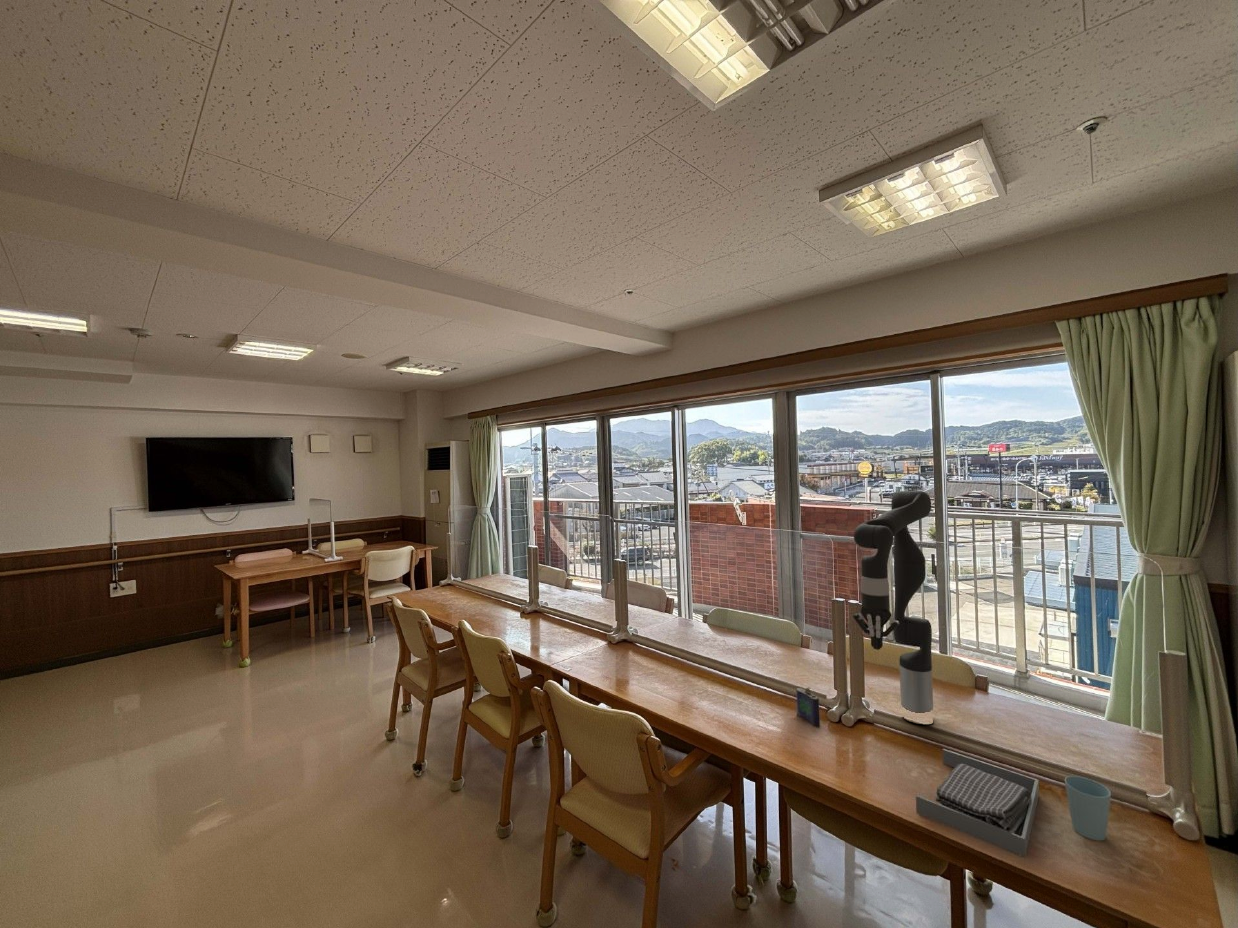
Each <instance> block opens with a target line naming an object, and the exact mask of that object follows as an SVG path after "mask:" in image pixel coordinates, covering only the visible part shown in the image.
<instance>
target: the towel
mask: <svg viewBox="0 0 1238 928" xmlns="http://www.w3.org/2000/svg"><path fill="white" fill-rule="evenodd" d="M935 794H936V797H935V801H936V803H938V804H941V805H943V806H946V807H948V808H951V809H953V810H956V811H959V812H961V813H964V814H966V815H969V816H971V817H974V818H976V819H979V820H981V821H984V822H986V823H989V824H991V825H994V826H996V827H999V828H1002V829H1004V830H1007V831H1009V832H1012V833H1014V834H1017V835H1019V836H1021V835H1022V832H1023V828H1024V824H1025V820H1026V815H1027V811H1028V807H1029V803H1030V800H1031V795H1032V794H1031V792H1030V791H1029V790H1028V789H1026V788H1024V787H1022V786H1020V785H1018V784H1016V783H1013V782H1009V781H1007V780H1005V779H1002V778H1000V777H997V776H995V775H991V774H988V773H985V772H983V771H980V770H979V769H976V768H973V767H971V766H968V765H966V764H962V763H961V764H958V765H957V766H956V767H955V768H954V767H953V768H952V770H951V771H950V772H949V774H948V776H947V777H946V778H945V779H944V781H943V782H942V783H940V785H938V786H937V788H936V793H935Z"/></svg>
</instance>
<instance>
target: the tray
mask: <svg viewBox="0 0 1238 928" xmlns="http://www.w3.org/2000/svg"><path fill="white" fill-rule="evenodd" d="M961 763H962V764H966V765H968V766H971V767H973V768H976V769H979V770H980V771H983V772H985V773H988V774H991V775H995V776H997V777H1000V778H1002V779H1005V780H1007V781H1009V782H1013V783H1016V784H1018V785H1020V786H1022V787H1024V788H1026V789H1028V790H1029V791H1030V792H1031V800H1030V802H1029V807H1028V811H1027V815H1026V820H1025V824H1024V828H1023V831H1022V833H1021V835H1020V836H1019V835H1017V834H1014V833H1012V832H1009V831H1007V830H1004V829H1002V828H999V827H996V826H994V825H991V824H989V823H986V822H984V821H981V820H979V819H976V818H974V817H971V816H969V815H966V814H964V813H961V812H959V811H956V810H953V809H951V808H948V807H946V806H943V805H941V804H940V803H939V802H937V801H936V802H935V801H934V800H930V799H928V798H926V797H923V796H920V795H917V794H916V796H915V807H916V813H917V814H919V815H921V816H924V817H926V818H928V819H931V820H933V821H935V822H938V823H940V824H943V825H946V826H947V827H950V828H952V829H954V830H957V831H960V832H962V833H963V834H967V835H969V836H971V837H974V838H976V839H978V840H981V841H983V842H986V843H988V844H990V845H993V846H995V847H998V848H1000V849H1003V850H1004V851H1007V852H1009V853H1012V854H1015V855H1017V856H1019V855H1021V856H1020V857H1021V858H1024V857H1025V858H1027V857H1026V856H1027V851H1028V847H1029V843H1030V838H1031V833H1032V830H1033V824H1034V820H1035V816H1036V811H1037V805H1038V801H1039V796H1040V792H1039V791H1040V787H1039V779H1037V778H1034V777H1031V776H1028V775H1025V774H1022V773H1019V772H1016V771H1013V770H1011V769H1010V770H1009V769H1007V768H1003V767H1001V766H997V765H995V764H991V763H988V762H985V761H983V760H979V759H976V758H973V757H970V756H968V755H964V754H962V753H961V754H960V753H958V752H955V751H952V750H948V749H946V748H942V764H943V765H945V766H948V767H951V768H953V769H954V768H955V767H956V766H957V765H958V764H961ZM916 813H915V814H916Z"/></svg>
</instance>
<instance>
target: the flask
mask: <svg viewBox="0 0 1238 928" xmlns="http://www.w3.org/2000/svg"><path fill="white" fill-rule="evenodd" d="M810 689H811V687H804V688H800V687H798V688H796V690H795V691H796V692H795V693H796V697H795V698H796V715H797V717H798V718H801V719H802V720H803V721H805V722H808V723H809V724H810V725H812V726H813V727H818V728H819V727H820V726H821V722H820V721H821V720H820V703H819V701H820V699H819V697H818V696H816V694H814V693H812V691H811V690H810Z"/></svg>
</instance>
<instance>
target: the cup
mask: <svg viewBox="0 0 1238 928" xmlns="http://www.w3.org/2000/svg"><path fill="white" fill-rule="evenodd" d="M1064 784H1065V789H1066V797H1067V801H1068V808H1069V813H1070V819H1071V825H1072V829H1074V831H1075V832H1076V833H1077V834H1079V835H1080V836H1082V837H1085V838H1086V839H1087V838H1088V839H1089V840H1092V841H1097V842H1098V841H1104V840H1106V837H1107V829H1108V821H1109V814H1110V806H1111V805H1110V804H1111V798H1112V792H1111V790H1110V789H1109V788H1108V787H1107V786H1105V785H1104V784H1102V783H1100V782H1098V781H1096V780H1094V779H1090V778H1087V777H1083V776H1079V775H1068V776H1066V777H1065V778H1064Z"/></svg>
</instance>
